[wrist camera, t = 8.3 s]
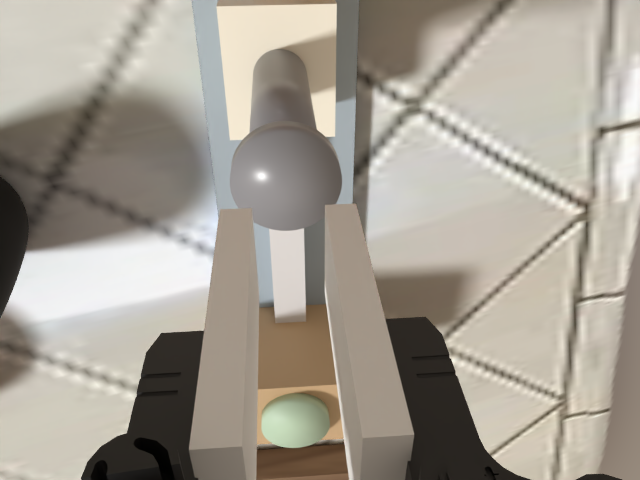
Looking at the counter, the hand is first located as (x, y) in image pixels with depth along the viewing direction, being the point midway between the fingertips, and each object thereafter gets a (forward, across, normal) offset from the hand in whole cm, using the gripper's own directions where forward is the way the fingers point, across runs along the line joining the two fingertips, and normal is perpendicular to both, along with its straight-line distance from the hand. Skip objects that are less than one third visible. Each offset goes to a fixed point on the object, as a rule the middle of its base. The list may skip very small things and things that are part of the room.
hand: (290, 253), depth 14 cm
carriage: (+17, 0, 0) cm, 17 cm away
